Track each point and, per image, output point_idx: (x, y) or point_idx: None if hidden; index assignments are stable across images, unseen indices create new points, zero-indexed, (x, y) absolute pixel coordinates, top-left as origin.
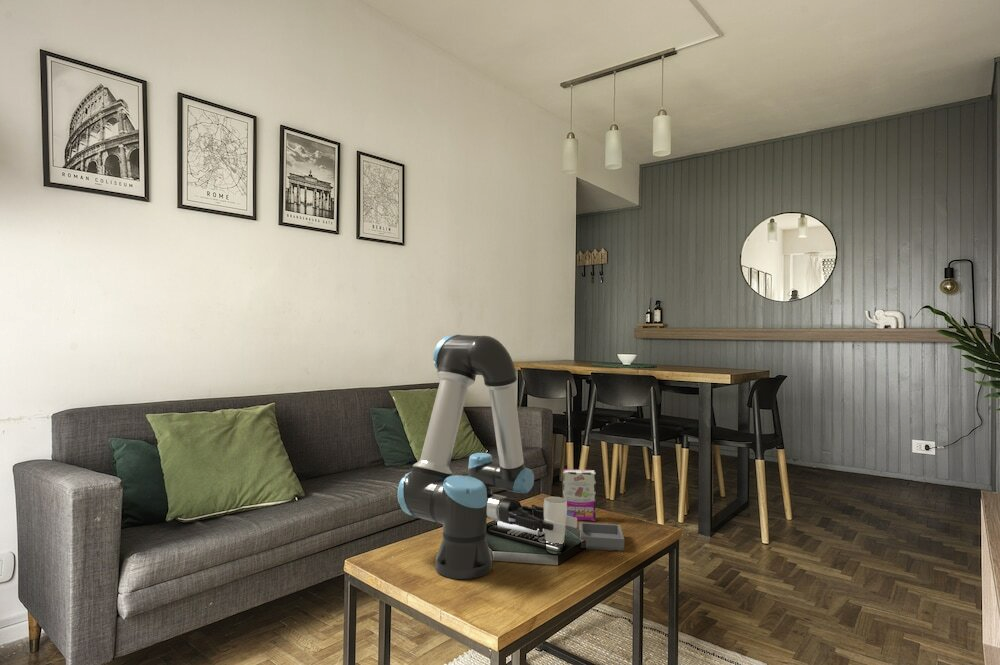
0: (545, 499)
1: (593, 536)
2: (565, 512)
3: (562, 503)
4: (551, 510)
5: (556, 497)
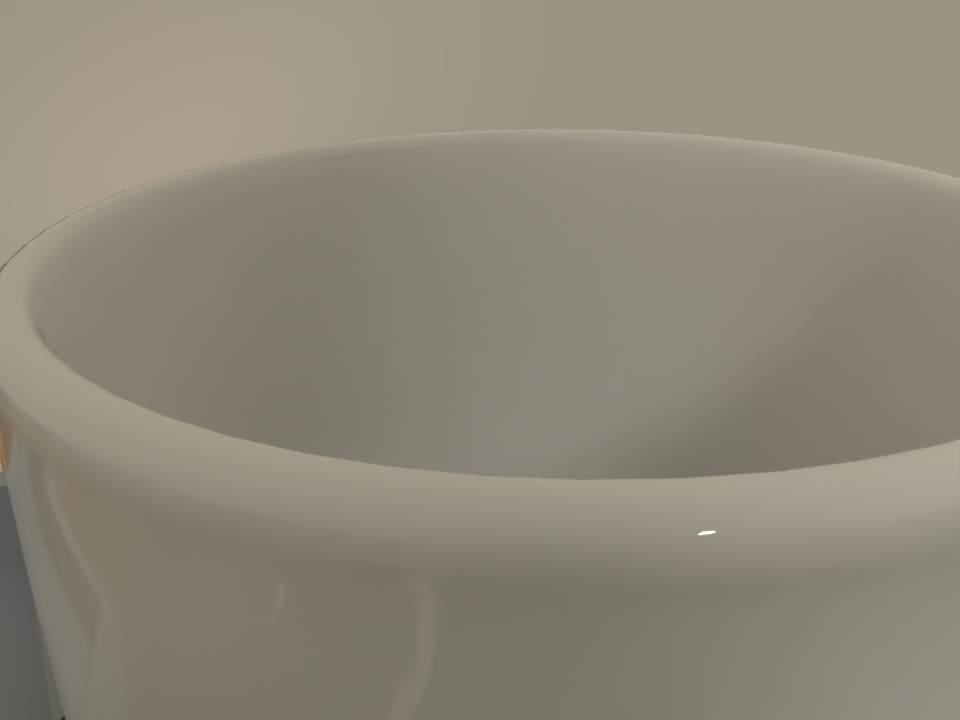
0: (846, 518)
1: (45, 667)
2: (518, 384)
3: (647, 144)
4: (935, 434)
5: (44, 313)
